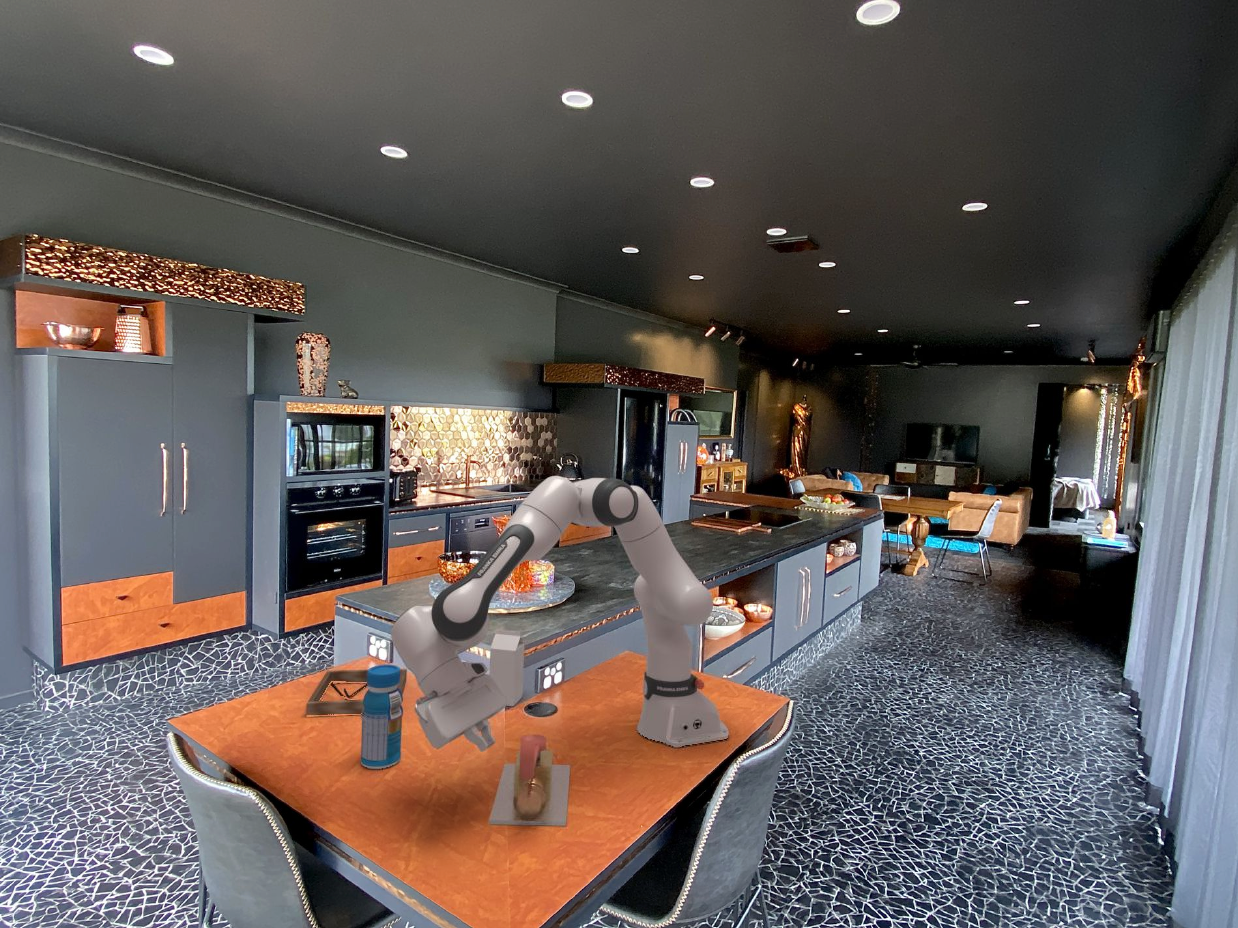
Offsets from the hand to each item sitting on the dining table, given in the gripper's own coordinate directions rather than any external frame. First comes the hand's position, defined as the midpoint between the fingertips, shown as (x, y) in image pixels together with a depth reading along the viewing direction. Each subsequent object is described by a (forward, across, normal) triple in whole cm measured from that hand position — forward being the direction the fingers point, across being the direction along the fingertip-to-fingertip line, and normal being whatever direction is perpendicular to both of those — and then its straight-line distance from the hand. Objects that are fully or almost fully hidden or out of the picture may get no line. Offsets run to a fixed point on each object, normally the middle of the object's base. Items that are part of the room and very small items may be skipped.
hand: (489, 747), depth 124 cm
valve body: (+12, +12, +7) cm, 18 cm away
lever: (+6, +7, -1) cm, 9 cm away
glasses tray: (-35, +33, +54) cm, 73 cm away
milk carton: (-11, +51, +30) cm, 60 cm away
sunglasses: (-35, +34, +55) cm, 73 cm away
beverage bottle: (-14, +8, +33) cm, 36 cm away
